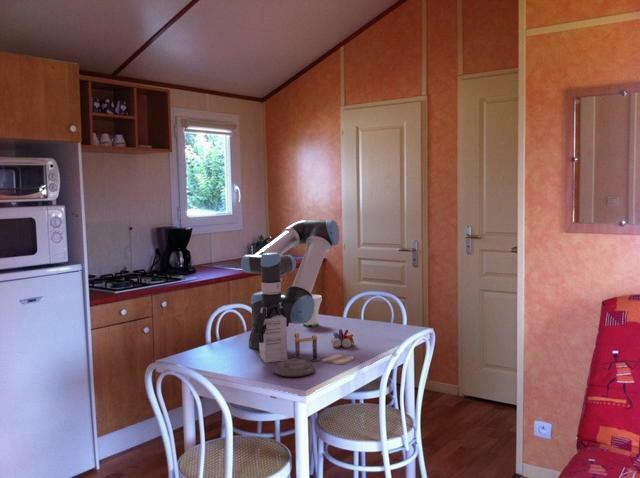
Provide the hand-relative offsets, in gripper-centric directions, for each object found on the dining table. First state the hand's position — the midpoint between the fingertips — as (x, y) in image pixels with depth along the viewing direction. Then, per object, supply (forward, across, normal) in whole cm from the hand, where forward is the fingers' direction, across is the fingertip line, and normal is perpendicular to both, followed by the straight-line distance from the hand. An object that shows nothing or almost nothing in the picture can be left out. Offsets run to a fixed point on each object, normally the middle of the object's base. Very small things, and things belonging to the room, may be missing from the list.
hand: (273, 346), depth 239 cm
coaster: (+5, +9, -24) cm, 26 cm away
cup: (+5, +57, +18) cm, 60 cm away
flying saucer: (+5, -12, -18) cm, 22 cm away
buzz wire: (+5, +2, -12) cm, 13 cm away
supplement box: (+5, 0, 0) cm, 5 cm away
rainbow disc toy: (+5, +29, -15) cm, 33 cm away
